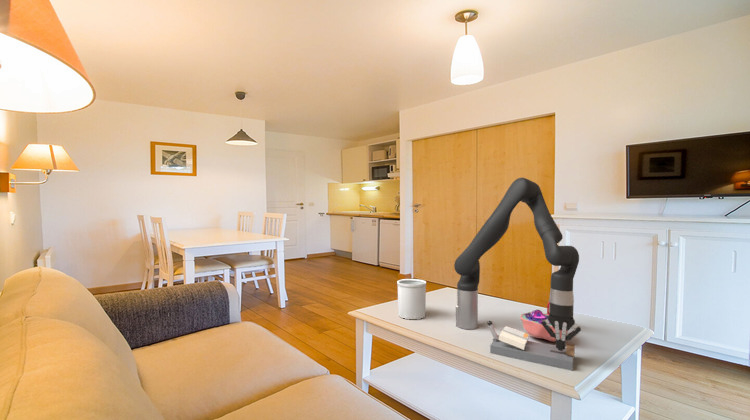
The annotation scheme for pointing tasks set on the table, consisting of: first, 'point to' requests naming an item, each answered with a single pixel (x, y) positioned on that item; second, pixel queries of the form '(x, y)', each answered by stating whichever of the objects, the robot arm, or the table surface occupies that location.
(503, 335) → the block
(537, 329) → the cell model
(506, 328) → the rocker white
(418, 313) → the utensil holder
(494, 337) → the toggle lever
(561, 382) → the table surface
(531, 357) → the panel
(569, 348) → the slider knob
